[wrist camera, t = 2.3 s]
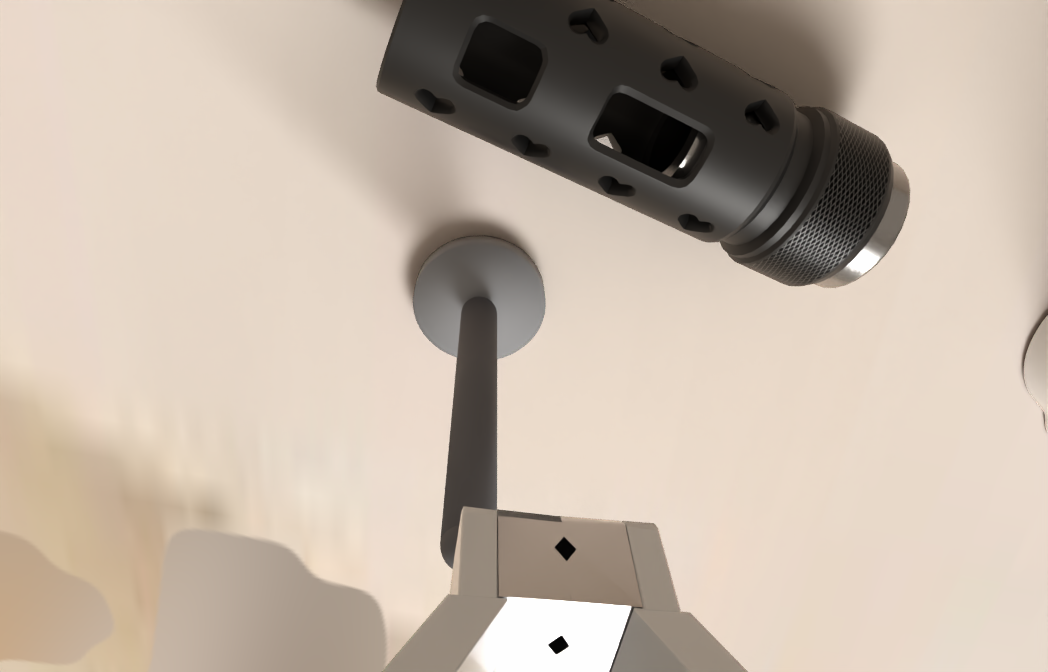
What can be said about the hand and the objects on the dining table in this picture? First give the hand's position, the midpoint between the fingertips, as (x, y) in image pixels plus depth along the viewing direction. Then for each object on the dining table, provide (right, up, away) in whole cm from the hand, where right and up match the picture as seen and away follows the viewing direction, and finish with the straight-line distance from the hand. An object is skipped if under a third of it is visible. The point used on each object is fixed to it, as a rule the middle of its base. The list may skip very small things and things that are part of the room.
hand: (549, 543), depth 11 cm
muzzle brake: (+6, +18, +33) cm, 38 cm away
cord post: (-3, +6, +39) cm, 39 cm away
